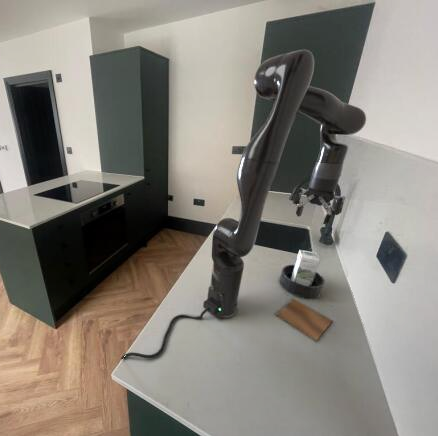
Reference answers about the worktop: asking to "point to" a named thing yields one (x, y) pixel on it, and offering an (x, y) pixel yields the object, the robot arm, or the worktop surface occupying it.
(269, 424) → the worktop surface
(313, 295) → the bowl
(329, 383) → the worktop surface
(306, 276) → the syrup box
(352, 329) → the worktop surface
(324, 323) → the coaster
